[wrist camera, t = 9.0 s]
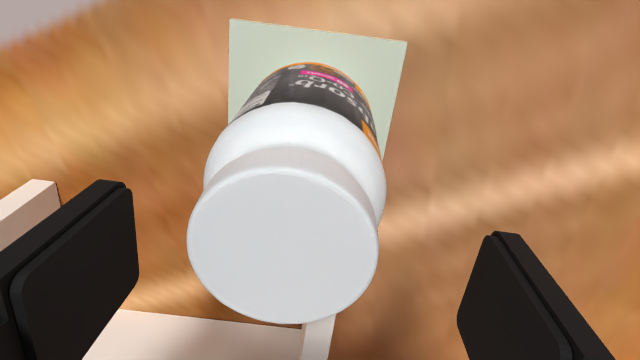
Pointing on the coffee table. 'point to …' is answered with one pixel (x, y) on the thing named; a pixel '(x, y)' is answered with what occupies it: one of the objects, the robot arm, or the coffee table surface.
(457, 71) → the coffee table surface
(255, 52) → the tile
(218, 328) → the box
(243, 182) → the pill bottle
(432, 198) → the coffee table surface
